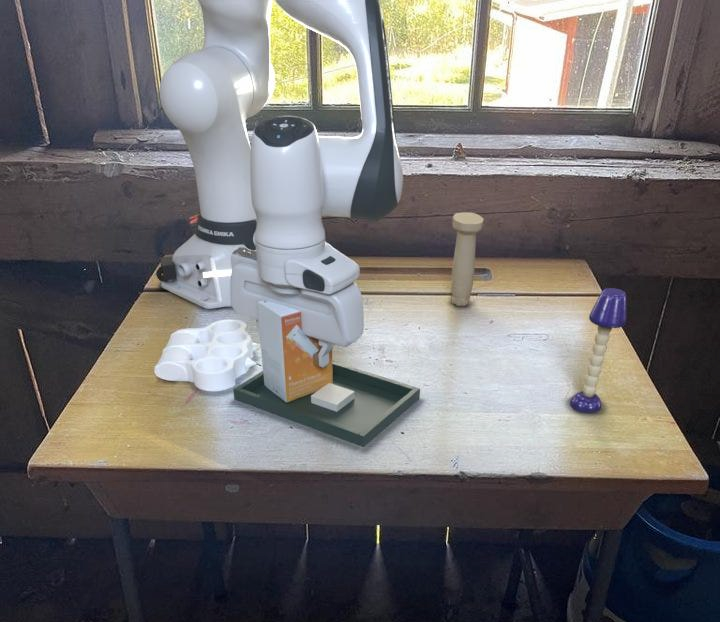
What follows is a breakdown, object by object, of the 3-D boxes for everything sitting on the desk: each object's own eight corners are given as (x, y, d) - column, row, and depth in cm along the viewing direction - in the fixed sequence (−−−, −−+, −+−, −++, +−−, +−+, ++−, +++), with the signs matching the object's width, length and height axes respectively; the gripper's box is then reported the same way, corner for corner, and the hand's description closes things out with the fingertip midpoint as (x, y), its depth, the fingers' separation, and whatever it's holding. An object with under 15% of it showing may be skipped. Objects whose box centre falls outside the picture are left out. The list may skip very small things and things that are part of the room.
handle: (450, 310, 127) (457, 224, 118) (443, 296, 132) (450, 212, 123) (477, 310, 128) (486, 223, 119) (469, 295, 133) (478, 212, 124)
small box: (286, 404, 100) (280, 316, 92) (263, 386, 104) (255, 300, 97) (334, 386, 104) (332, 301, 96) (310, 369, 108) (306, 286, 100)
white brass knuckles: (177, 337, 118) (267, 338, 118) (150, 393, 104) (253, 394, 103) (174, 318, 116) (265, 319, 116) (146, 372, 102) (251, 373, 101)
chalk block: (310, 403, 101) (310, 395, 100) (329, 389, 104) (328, 382, 103) (337, 412, 99) (336, 404, 98) (354, 398, 102) (354, 391, 101)
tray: (234, 402, 102) (232, 389, 100) (297, 361, 112) (296, 349, 110) (363, 450, 92) (363, 436, 91) (419, 401, 102) (420, 388, 101)
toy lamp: (577, 393, 104) (601, 281, 94) (609, 402, 102) (637, 289, 92) (565, 407, 101) (589, 293, 91) (598, 417, 99) (626, 302, 89)
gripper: (214, 251, 95) (225, 346, 104) (342, 285, 86) (343, 386, 95) (245, 237, 99) (254, 329, 108) (370, 268, 91) (369, 366, 99)
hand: (297, 356), depth 101 cm, fingers closed on small box, 7 cm apart
